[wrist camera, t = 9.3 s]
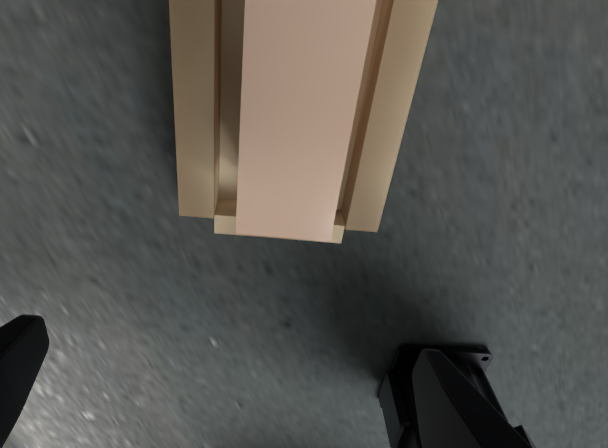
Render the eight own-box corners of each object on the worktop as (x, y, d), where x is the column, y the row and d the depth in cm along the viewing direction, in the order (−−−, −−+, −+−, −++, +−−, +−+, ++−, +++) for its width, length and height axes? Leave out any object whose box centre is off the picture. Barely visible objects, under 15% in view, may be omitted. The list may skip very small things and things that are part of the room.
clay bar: (375, -155, 13) (417, -211, 9) (320, 181, 19) (330, 241, 15) (265, -174, 13) (255, -242, 8) (246, 174, 19) (235, 233, 15)
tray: (479, -239, 13) (522, -285, 10) (368, 219, 22) (377, 249, 19) (169, -302, 12) (140, -366, 10) (187, 203, 21) (174, 233, 19)
